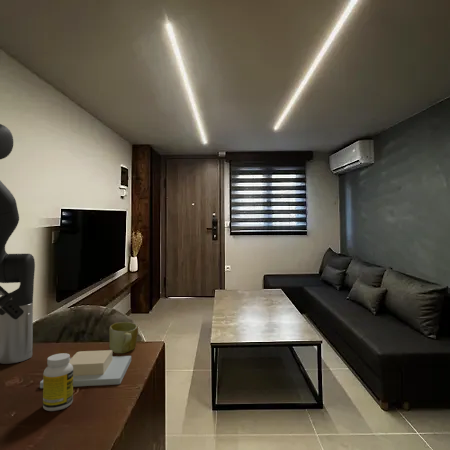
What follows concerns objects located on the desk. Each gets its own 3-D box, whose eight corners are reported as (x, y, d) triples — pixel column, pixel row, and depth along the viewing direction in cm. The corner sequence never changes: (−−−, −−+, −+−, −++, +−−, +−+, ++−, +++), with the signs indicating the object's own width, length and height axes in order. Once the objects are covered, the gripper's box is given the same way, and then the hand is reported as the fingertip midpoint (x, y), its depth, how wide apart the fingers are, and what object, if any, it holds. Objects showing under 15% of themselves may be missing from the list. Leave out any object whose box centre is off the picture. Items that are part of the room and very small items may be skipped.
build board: (39, 388, 83) (40, 370, 83) (64, 363, 99) (64, 348, 99) (120, 384, 85) (120, 366, 85) (131, 360, 101) (131, 345, 101)
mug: (103, 340, 114) (112, 314, 114) (132, 346, 118) (141, 321, 117) (101, 360, 103) (111, 331, 102) (132, 365, 106) (143, 337, 106)
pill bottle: (72, 408, 73) (72, 359, 74) (40, 414, 71) (41, 363, 71) (73, 396, 79) (74, 350, 79) (45, 401, 77) (45, 353, 77)
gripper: (-22, 243, 59) (40, 302, 67) (-41, 246, 69) (16, 298, 76) (-64, 273, 55) (8, 333, 62) (-78, 271, 64) (-14, 324, 71)
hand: (12, 313), depth 69 cm, fingers open, 8 cm apart
